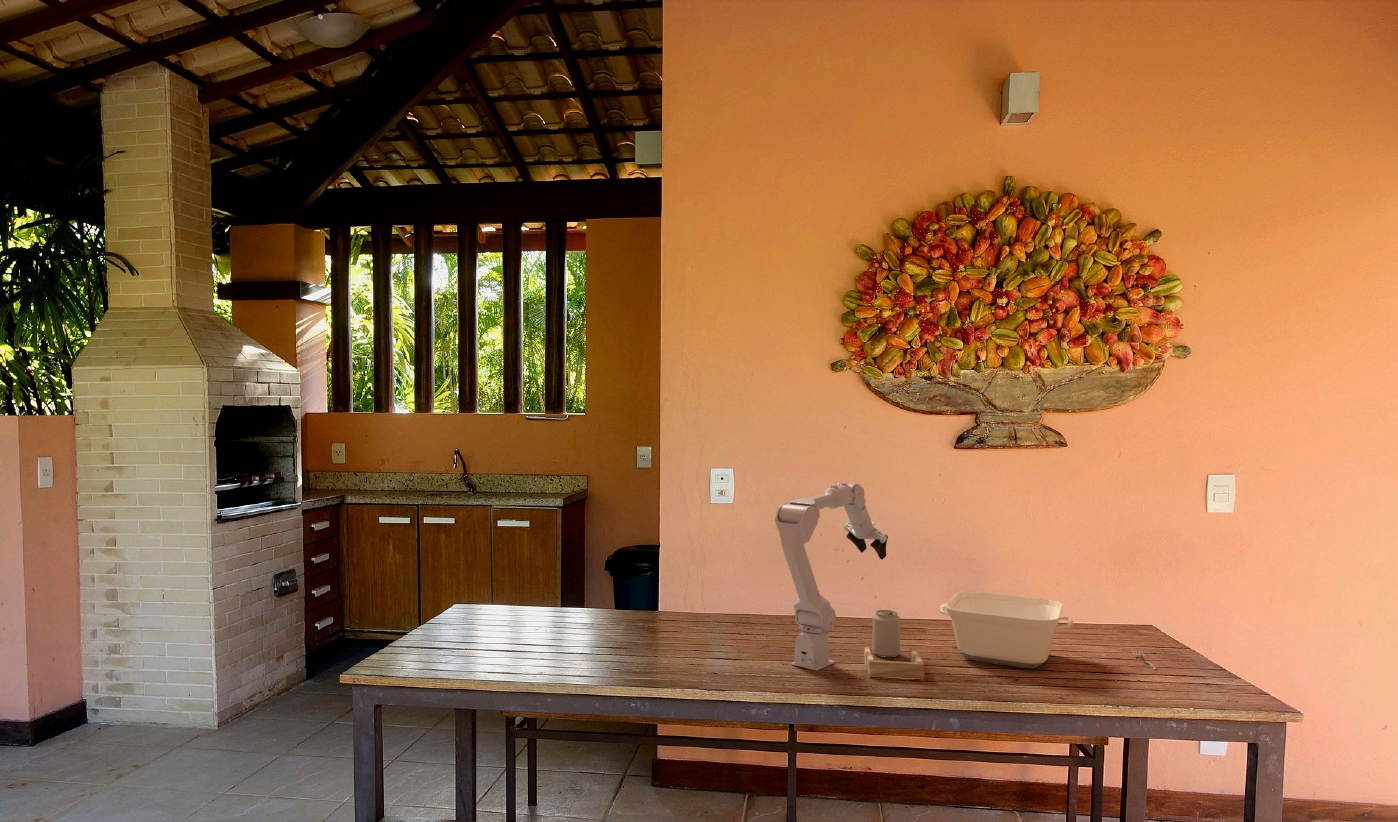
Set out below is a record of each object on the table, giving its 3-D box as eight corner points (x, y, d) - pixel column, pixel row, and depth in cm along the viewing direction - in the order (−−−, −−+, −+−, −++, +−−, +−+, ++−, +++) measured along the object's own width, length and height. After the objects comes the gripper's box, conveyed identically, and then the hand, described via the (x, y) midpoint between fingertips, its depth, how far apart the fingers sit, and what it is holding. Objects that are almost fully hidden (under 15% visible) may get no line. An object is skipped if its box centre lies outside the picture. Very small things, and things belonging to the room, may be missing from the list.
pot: (930, 662, 210) (930, 607, 210) (949, 637, 236) (949, 588, 236) (1070, 683, 194) (1070, 623, 195) (1074, 654, 220) (1075, 601, 220)
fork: (1163, 684, 196) (1163, 676, 196) (1130, 656, 219) (1130, 649, 219) (1177, 685, 195) (1177, 677, 195) (1143, 656, 219) (1143, 650, 219)
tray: (924, 680, 195) (924, 664, 195) (869, 677, 196) (869, 661, 196) (914, 663, 209) (914, 648, 209) (863, 661, 210) (864, 646, 210)
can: (902, 659, 212) (903, 615, 213) (875, 658, 213) (875, 614, 213) (896, 651, 220) (896, 608, 220) (869, 650, 220) (870, 608, 220)
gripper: (887, 515, 220) (901, 551, 225) (849, 504, 231) (863, 539, 237) (872, 530, 217) (886, 567, 222) (834, 518, 228) (848, 553, 234)
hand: (873, 553), depth 229 cm, fingers open, 7 cm apart
